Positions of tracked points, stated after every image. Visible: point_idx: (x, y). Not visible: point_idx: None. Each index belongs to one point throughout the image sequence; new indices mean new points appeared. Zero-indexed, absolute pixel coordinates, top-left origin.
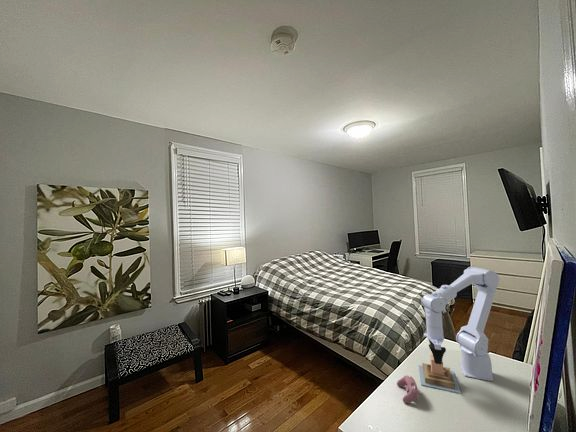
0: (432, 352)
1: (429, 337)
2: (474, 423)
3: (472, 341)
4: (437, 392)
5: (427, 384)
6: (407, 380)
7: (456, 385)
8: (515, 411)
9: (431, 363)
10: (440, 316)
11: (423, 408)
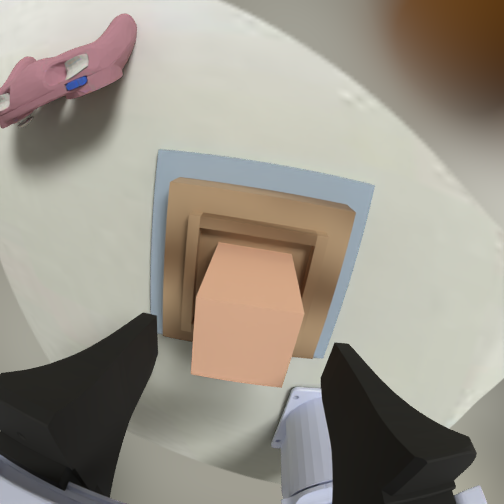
0: (48, 367)
1: None
2: (26, 301)
3: None
4: (125, 225)
5: (166, 187)
6: (29, 65)
7: None
8: (133, 425)
9: (207, 278)
10: None
11: (21, 140)
